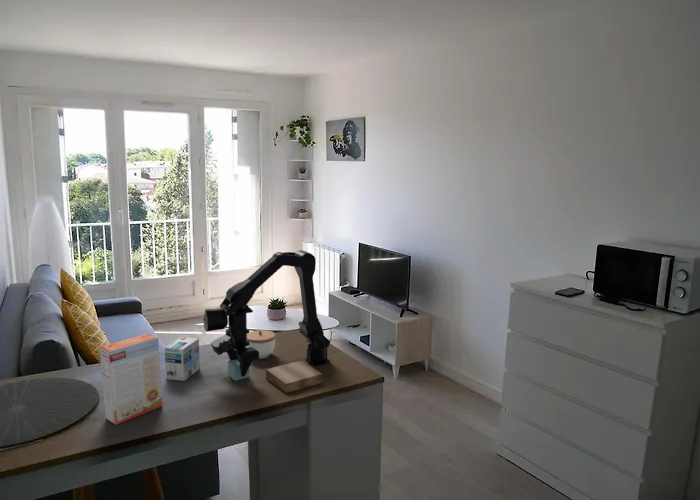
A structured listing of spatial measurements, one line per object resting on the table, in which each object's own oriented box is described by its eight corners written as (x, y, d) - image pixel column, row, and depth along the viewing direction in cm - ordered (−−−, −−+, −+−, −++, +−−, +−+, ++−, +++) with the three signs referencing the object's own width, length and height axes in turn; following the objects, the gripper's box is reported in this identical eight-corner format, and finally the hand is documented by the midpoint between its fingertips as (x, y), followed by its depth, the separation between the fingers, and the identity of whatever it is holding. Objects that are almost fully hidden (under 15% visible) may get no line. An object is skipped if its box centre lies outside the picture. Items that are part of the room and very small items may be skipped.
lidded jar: (251, 349, 191) (250, 325, 190) (279, 351, 190) (278, 326, 188) (241, 360, 181) (240, 334, 179) (270, 362, 180) (270, 336, 178)
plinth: (300, 369, 174) (300, 360, 174) (321, 382, 164) (321, 373, 163) (266, 378, 166) (265, 369, 166) (286, 393, 156) (286, 383, 156)
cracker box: (152, 400, 150) (148, 332, 146) (163, 407, 146) (159, 337, 143) (104, 418, 139) (98, 345, 136) (114, 426, 136) (109, 351, 132)
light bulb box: (184, 381, 163) (183, 349, 161) (165, 379, 164) (163, 347, 162) (200, 368, 173) (199, 338, 171) (182, 366, 175) (181, 336, 173)
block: (242, 372, 171) (242, 357, 170) (249, 377, 167) (248, 362, 166) (228, 375, 168) (228, 361, 167) (234, 381, 164) (234, 366, 163)
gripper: (202, 323, 167) (204, 368, 170) (225, 340, 153) (227, 389, 155) (234, 317, 174) (235, 361, 177) (259, 332, 159) (260, 380, 162)
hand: (238, 372), depth 167 cm, fingers open, 7 cm apart
